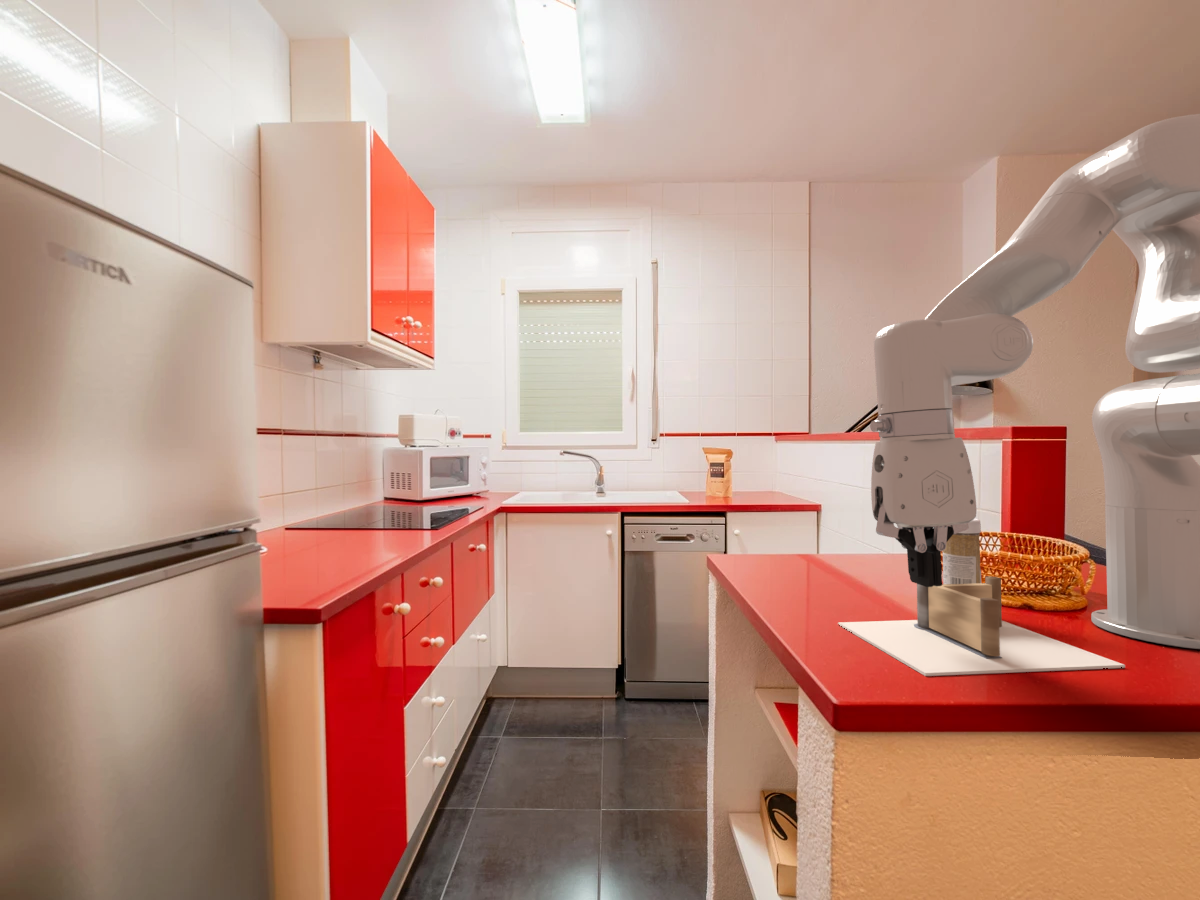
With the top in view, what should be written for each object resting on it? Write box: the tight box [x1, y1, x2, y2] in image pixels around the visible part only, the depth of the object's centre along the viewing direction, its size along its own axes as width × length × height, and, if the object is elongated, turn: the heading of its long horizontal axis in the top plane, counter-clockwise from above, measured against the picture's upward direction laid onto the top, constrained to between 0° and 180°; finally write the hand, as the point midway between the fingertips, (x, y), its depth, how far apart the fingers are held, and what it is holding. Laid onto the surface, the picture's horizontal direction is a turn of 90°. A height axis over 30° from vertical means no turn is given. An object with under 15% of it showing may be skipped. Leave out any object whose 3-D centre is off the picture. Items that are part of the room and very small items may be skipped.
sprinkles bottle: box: [942, 518, 982, 584], centre depth 72 cm, size 5×5×13 cm
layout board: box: [837, 619, 1126, 677], centre depth 60 cm, size 22×16×1 cm
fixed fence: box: [916, 575, 1003, 629], centre depth 65 cm, size 11×2×7 cm, turn 95°
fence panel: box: [928, 586, 1000, 656], centre depth 59 cm, size 9×2×6 cm, turn 4°
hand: (925, 583), depth 60 cm, fingers closed
